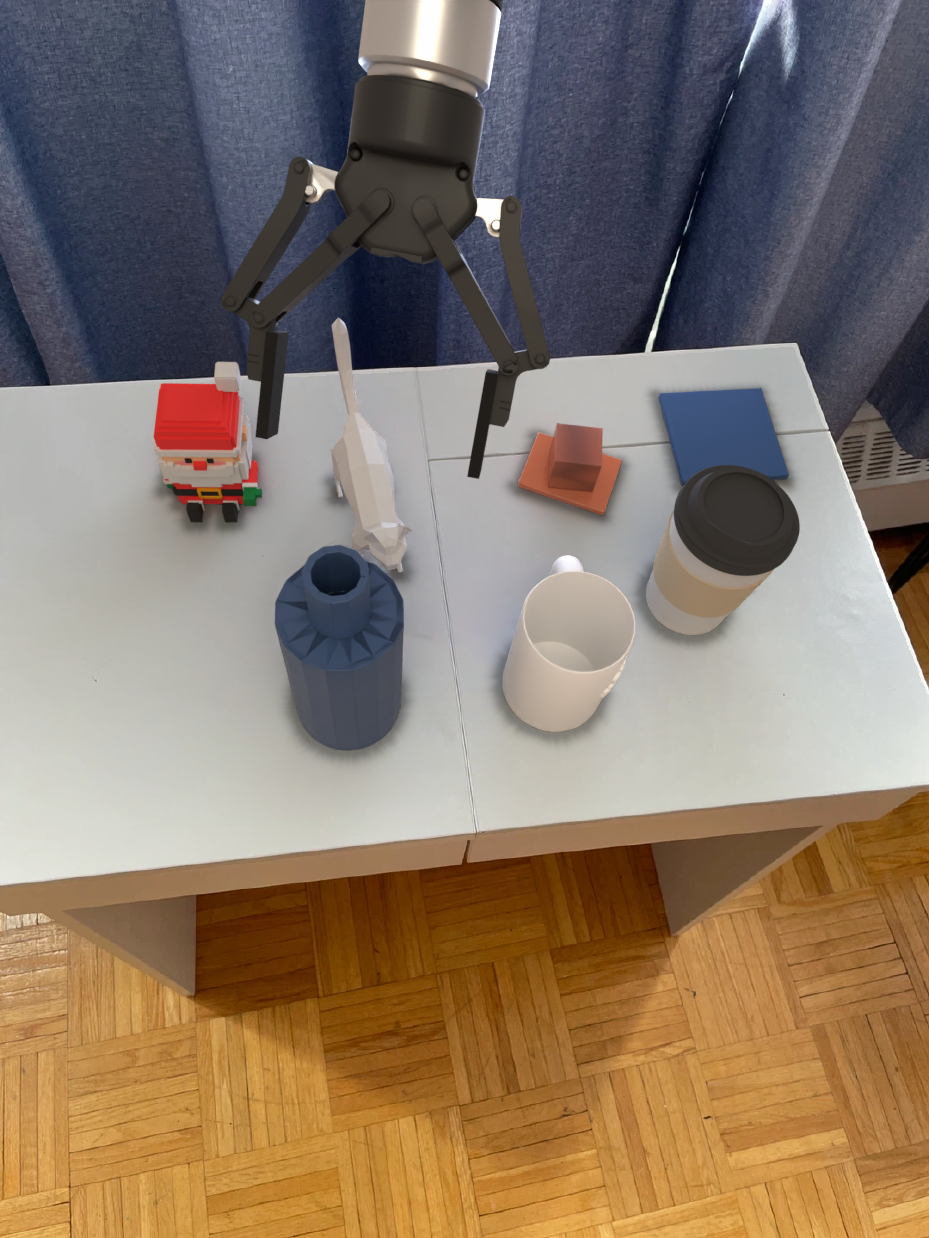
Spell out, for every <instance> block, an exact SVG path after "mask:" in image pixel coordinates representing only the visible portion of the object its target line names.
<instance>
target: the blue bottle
mask: <svg viewBox="0 0 929 1238" xmlns="http://www.w3.org/2000/svg"><path fill="white" fill-rule="evenodd" d="M404 607H405V606H404V598H403V596H402V594H401V592H400V590H399V588H398V586H397V583H396V582H395V580H394V578H392V576H390V575H389V574H388V573H387V572H385V571H384V570H383V569H382V568H381V567H379V566H378V565H377V564H376V563H374V562H370V561H369V560H366V559H365V558H364V557H363V555H362V556H361V555H360V554H359V553H358V551H356V550H354V549H352V547H349V546H345V545H342V544H334V545H326V546H325V545H324V546H322V547H321V548H319V549H318V550H316V551H313V553H311V554H310V555H309V556H308V557H307V559H306V561H305V563H304V564H303V565H302V566H301V567H300V568H299V569H298V570H296V571H295V572H294V573H293V574H292V575H290V577H288V578H287V579H286V580H285V581H284V583H283V586H282V587H281V589H280V592H279V594H278V596H277V598H276V599H275V603H274V627H275V631H276V635H277V639H278V643H279V647H280V651H281V654H282V658H283V663H284V667H285V671H286V674H287V678H288V682H289V686H290V689H291V690H290V691H291V695H292V698H293V702H294V706H295V710H296V712H297V716H298V718H299V720H300V722H301V723H300V724H301V725H302V727H303V728H304V729H305V732H306V733H307V734H308V735H309V736H310V737H311V738H312V739H314V740H315V741H316V742H318V743H319V744H321V745H322V746H325V747H327V748H330V749H333V750H338V751H345V752H346V751H349V752H350V751H358V750H361V749H362V750H363V749H365V748H368V747H371V746H372V745H375V744H376V743H378V742H380V741H381V740H382V739H383V738H384V737H386V736H387V735H388V734H389V732H390V731H391V730H392V728H394V725H395V724H396V722H397V720H398V717H399V714H400V710H401V708H402V707H401V706H402V685H403V684H402V683H403V659H404V657H403V655H404V635H405V634H404V631H405V630H404V629H405V609H404Z"/></svg>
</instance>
